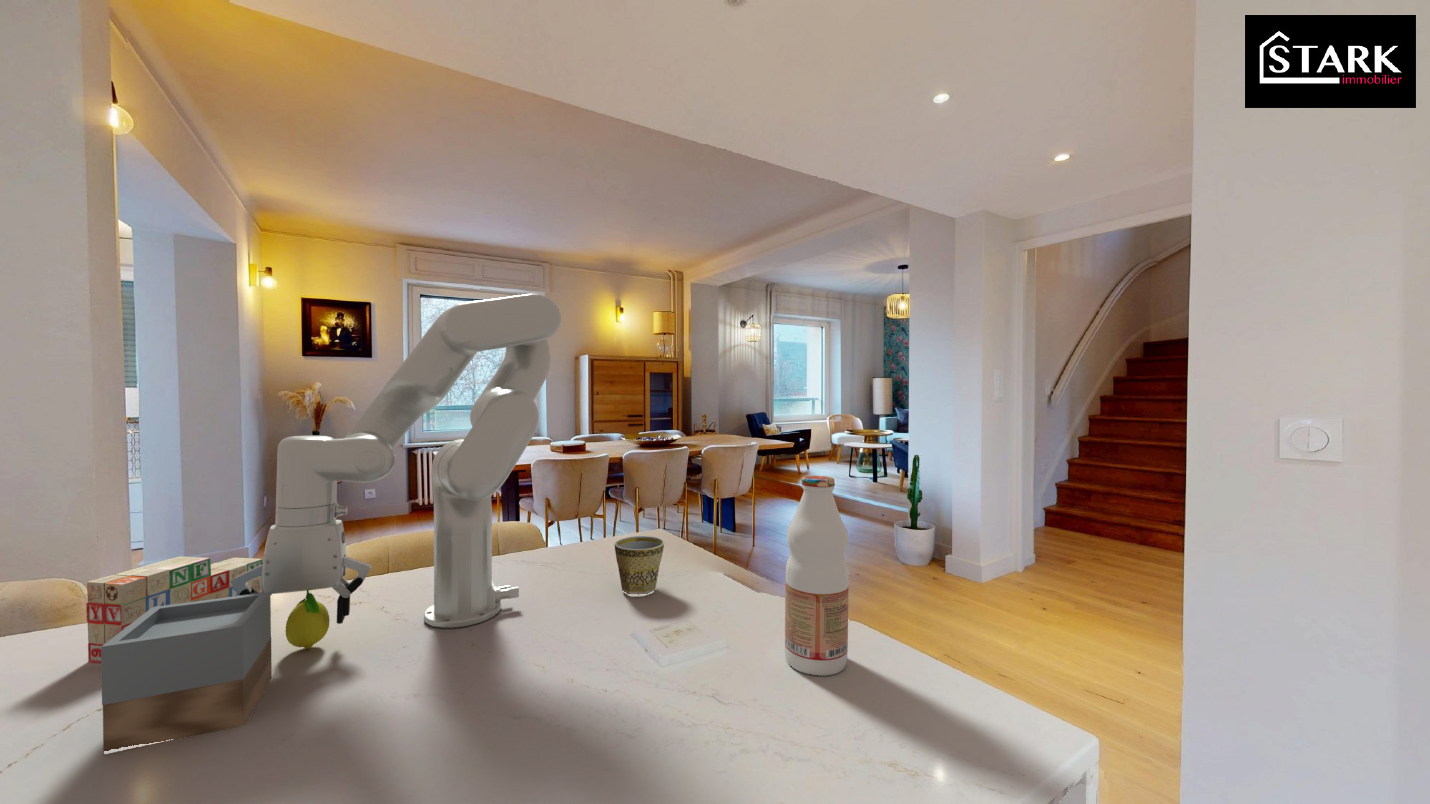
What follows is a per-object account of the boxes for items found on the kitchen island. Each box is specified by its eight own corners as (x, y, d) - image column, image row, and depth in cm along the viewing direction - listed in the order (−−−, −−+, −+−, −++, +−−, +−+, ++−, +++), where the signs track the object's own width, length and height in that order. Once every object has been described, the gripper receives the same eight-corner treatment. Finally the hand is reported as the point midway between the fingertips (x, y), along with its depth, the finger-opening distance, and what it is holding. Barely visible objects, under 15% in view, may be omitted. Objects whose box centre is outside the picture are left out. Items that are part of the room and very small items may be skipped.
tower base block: (271, 679, 75) (271, 637, 75) (243, 727, 65) (243, 678, 65) (155, 701, 70) (154, 655, 70) (103, 757, 59) (102, 704, 59)
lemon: (319, 657, 81) (319, 592, 81) (274, 661, 80) (274, 594, 80) (340, 637, 88) (340, 576, 87) (299, 640, 86) (299, 579, 86)
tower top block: (270, 637, 75) (270, 591, 75) (242, 679, 64) (242, 625, 64) (153, 656, 70) (153, 606, 70) (102, 705, 59) (101, 646, 59)
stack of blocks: (235, 606, 100) (235, 540, 100) (264, 608, 99) (264, 542, 99) (86, 663, 79) (85, 580, 79) (121, 666, 78) (120, 583, 78)
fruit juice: (780, 672, 78) (783, 480, 77) (788, 643, 87) (790, 471, 87) (847, 681, 76) (850, 484, 75) (847, 650, 85) (850, 474, 84)
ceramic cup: (660, 601, 104) (661, 549, 104) (609, 600, 104) (609, 549, 104) (667, 577, 117) (667, 532, 117) (622, 577, 117) (622, 531, 117)
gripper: (375, 507, 91) (372, 608, 91) (242, 514, 83) (239, 625, 83) (369, 516, 84) (366, 625, 84) (225, 525, 76) (221, 645, 76)
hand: (303, 625), depth 83 cm, fingers open, 9 cm apart
